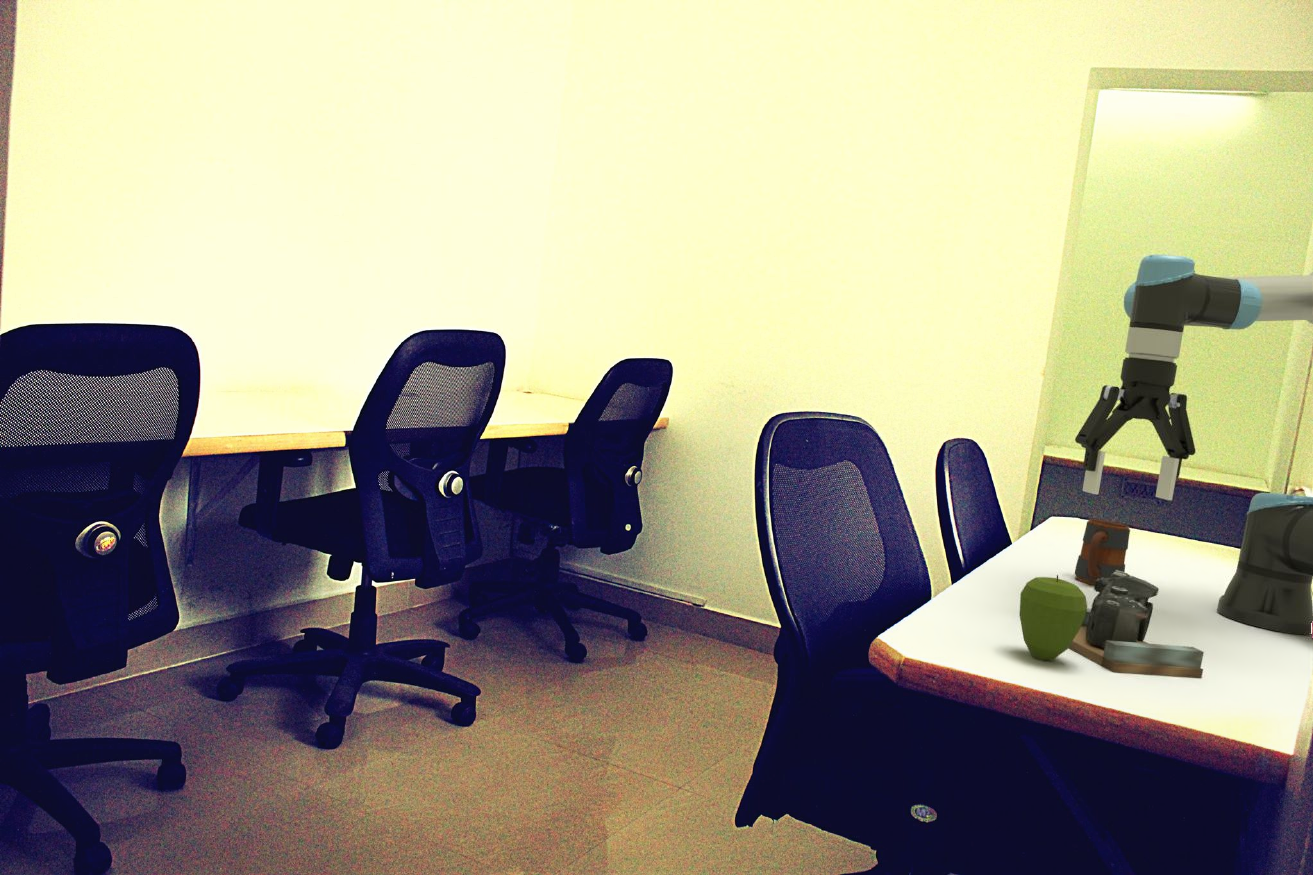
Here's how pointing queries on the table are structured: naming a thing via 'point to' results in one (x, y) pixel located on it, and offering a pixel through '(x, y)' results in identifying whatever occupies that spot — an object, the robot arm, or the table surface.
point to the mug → (1102, 550)
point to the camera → (1120, 609)
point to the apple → (1050, 615)
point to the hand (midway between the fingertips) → (1127, 495)
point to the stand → (1140, 656)
